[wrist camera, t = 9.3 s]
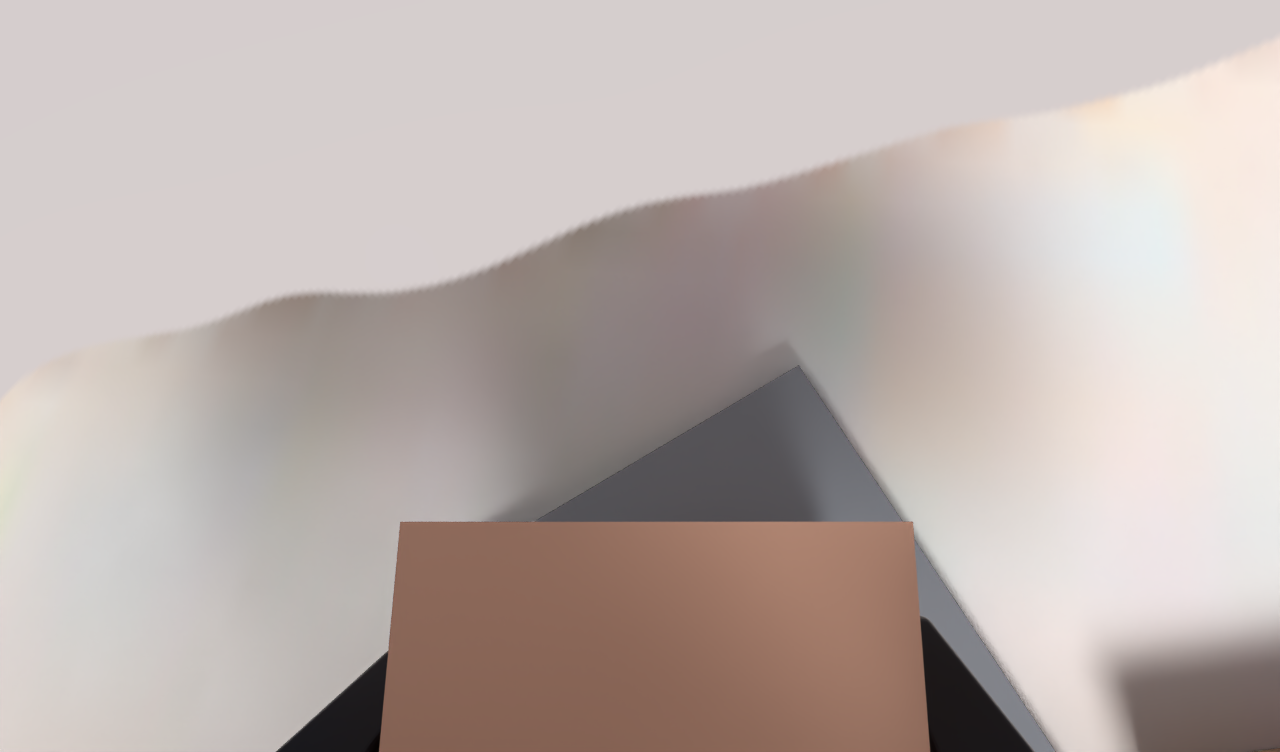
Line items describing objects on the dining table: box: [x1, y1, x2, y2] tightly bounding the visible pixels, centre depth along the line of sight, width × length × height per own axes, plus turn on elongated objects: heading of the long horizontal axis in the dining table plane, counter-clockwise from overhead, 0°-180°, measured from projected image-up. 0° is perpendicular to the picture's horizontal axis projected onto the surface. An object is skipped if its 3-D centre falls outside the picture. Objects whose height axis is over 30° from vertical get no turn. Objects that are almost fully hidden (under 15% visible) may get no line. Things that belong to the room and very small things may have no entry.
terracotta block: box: [379, 522, 930, 752], centre depth 11 cm, size 5×5×9 cm
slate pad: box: [535, 365, 1055, 752], centre depth 17 cm, size 10×10×1 cm
